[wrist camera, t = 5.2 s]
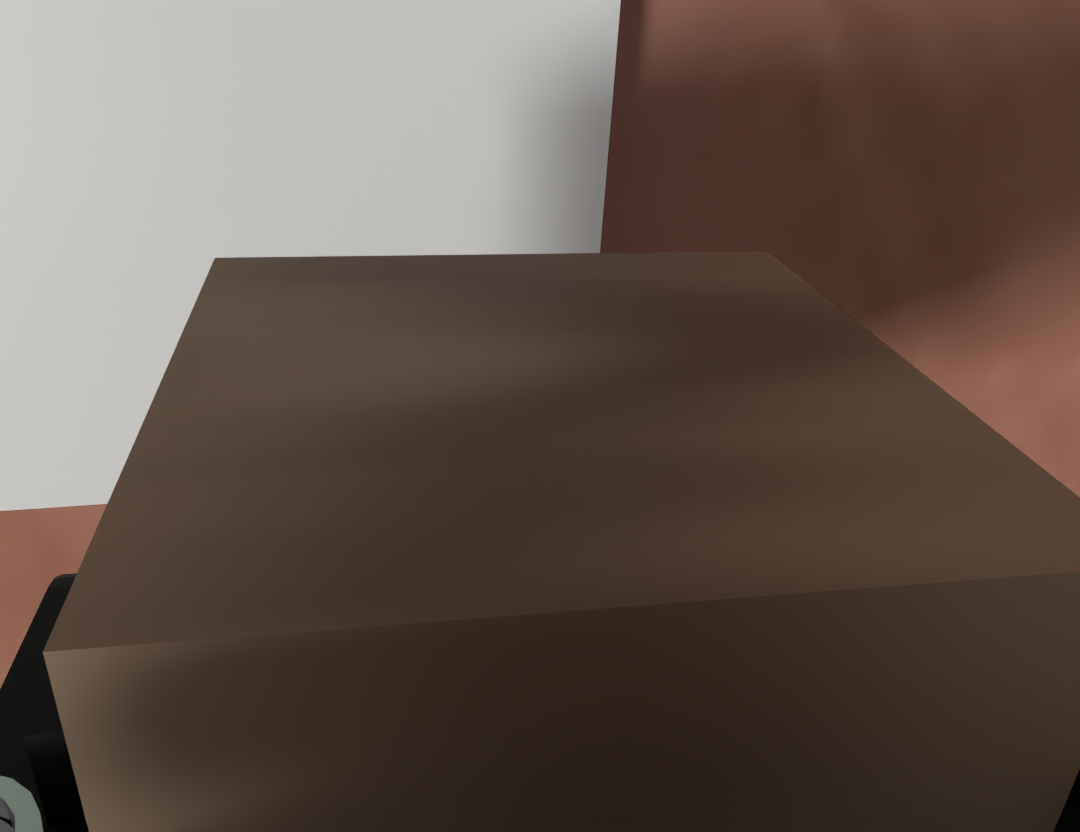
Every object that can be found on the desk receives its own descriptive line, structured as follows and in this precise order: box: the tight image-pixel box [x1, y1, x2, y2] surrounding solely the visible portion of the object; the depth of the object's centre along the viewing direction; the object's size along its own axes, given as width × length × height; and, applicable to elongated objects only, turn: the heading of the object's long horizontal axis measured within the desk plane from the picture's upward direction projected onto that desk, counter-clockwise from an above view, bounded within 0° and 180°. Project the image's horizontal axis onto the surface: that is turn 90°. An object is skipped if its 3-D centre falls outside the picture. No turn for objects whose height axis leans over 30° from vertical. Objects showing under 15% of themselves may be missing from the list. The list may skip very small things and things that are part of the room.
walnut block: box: [43, 251, 1080, 832], centre depth 9 cm, size 6×6×6 cm
